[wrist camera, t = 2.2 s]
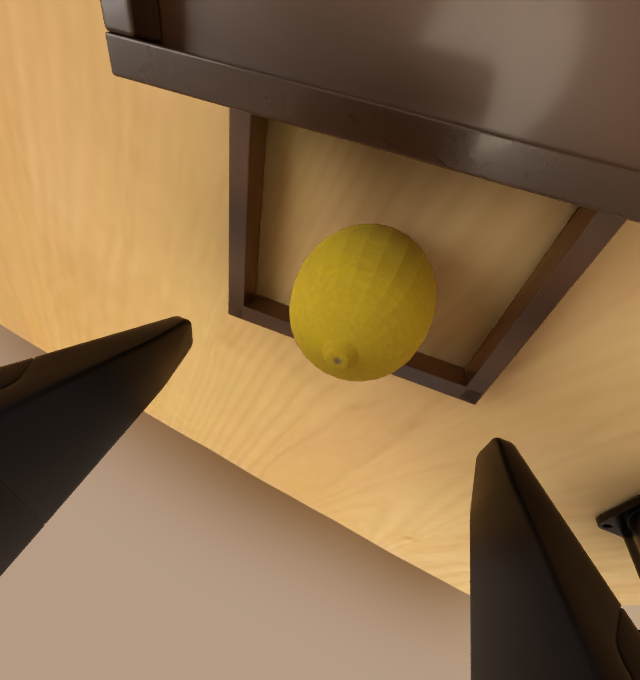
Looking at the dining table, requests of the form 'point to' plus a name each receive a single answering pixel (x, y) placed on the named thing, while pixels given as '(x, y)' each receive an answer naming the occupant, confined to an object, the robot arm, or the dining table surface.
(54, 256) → the dining table surface
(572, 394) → the dining table surface
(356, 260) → the lemon
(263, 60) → the step shelf
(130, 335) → the robot arm
